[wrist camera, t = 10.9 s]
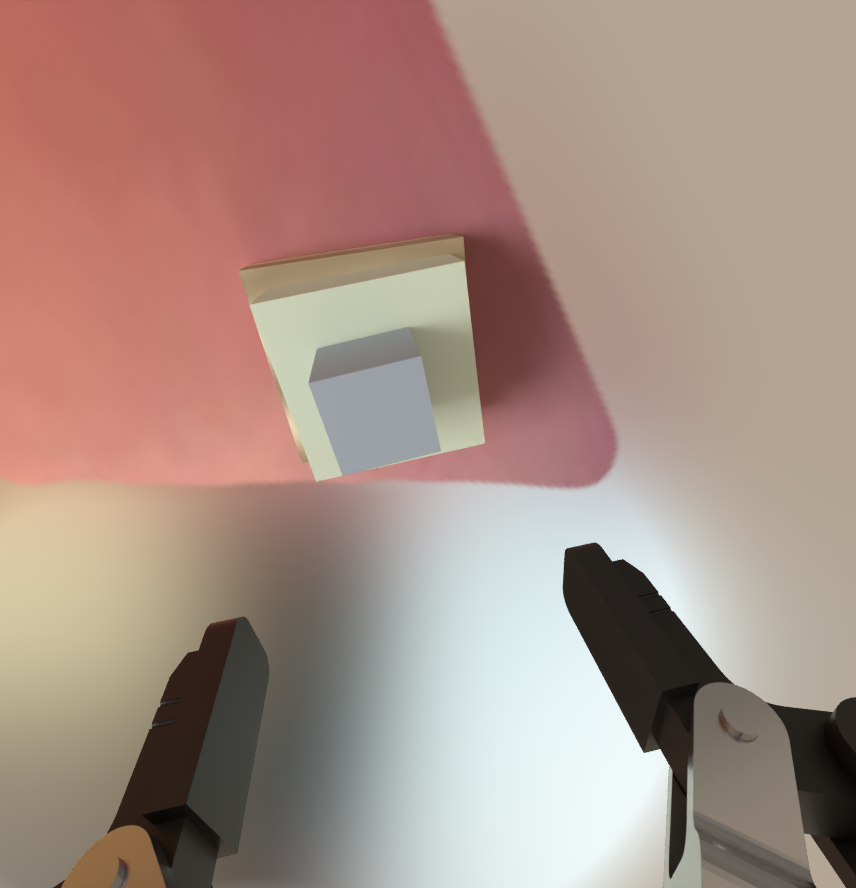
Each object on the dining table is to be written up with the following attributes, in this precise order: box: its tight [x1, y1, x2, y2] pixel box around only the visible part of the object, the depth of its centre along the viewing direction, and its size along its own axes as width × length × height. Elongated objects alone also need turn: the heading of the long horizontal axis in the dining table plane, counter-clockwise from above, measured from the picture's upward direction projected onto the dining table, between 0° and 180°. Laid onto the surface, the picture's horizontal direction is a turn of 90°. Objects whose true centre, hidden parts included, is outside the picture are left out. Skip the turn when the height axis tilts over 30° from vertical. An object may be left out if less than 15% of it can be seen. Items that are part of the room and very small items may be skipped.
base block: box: [238, 233, 467, 463], centre depth 29 cm, size 13×13×4 cm
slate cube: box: [308, 327, 441, 476], centre depth 21 cm, size 5×5×5 cm
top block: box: [250, 254, 485, 481], centre depth 25 cm, size 11×11×4 cm
